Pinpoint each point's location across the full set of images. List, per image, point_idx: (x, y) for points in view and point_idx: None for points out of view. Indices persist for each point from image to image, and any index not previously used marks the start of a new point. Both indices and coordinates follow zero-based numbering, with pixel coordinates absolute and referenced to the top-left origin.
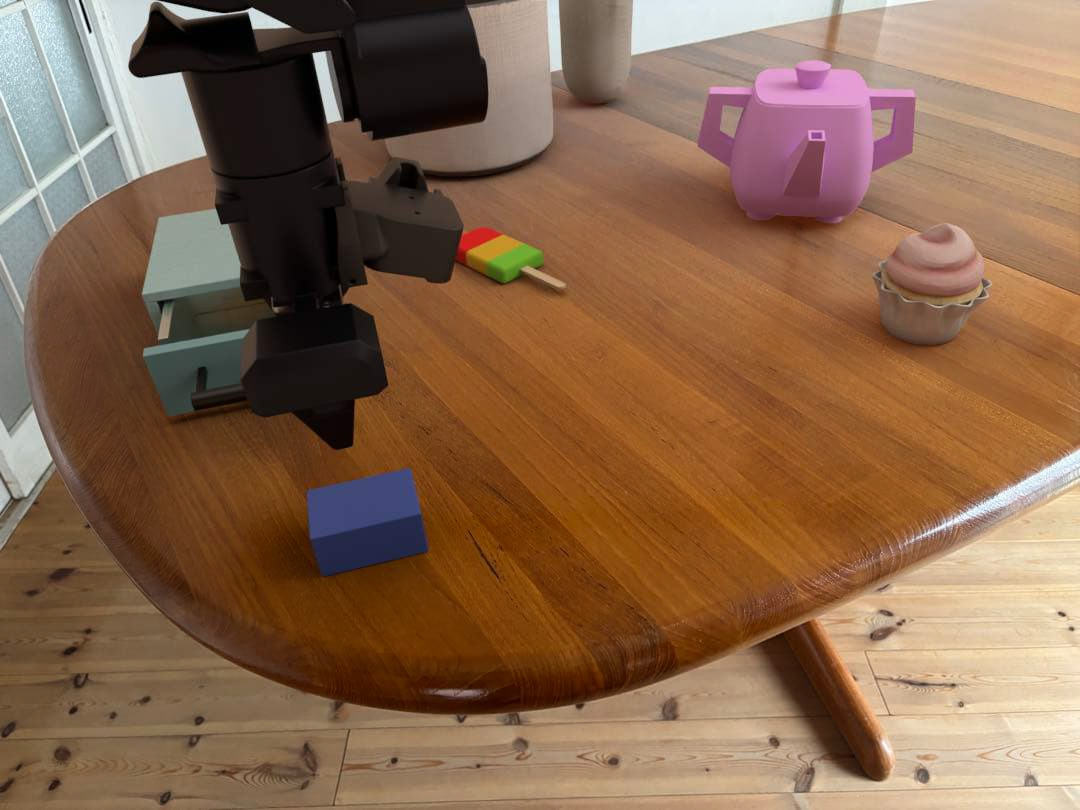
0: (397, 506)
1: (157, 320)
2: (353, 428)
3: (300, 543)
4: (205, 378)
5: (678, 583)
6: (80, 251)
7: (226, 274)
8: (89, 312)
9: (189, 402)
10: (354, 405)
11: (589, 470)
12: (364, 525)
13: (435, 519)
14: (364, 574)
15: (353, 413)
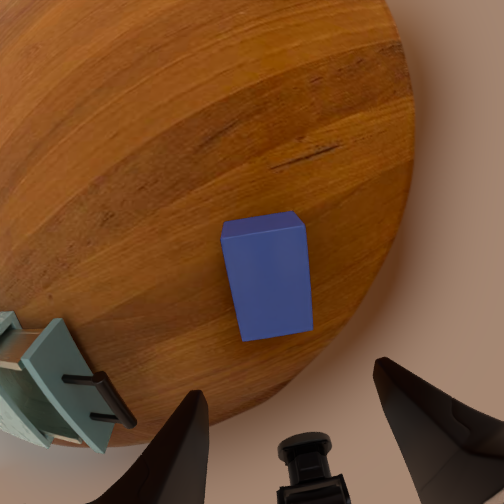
0: (288, 252)
1: None
2: (416, 375)
3: None
4: (101, 416)
5: (361, 10)
6: None
7: (6, 407)
8: None
9: (108, 407)
10: (458, 401)
11: (199, 39)
12: (308, 284)
13: (247, 203)
14: None
15: (443, 392)
